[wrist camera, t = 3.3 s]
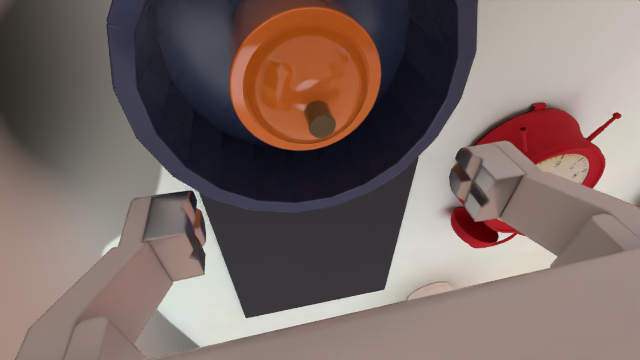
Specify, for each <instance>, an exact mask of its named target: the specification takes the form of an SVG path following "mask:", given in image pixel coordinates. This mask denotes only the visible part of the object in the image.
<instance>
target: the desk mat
mask: <svg viewBox="0 0 640 360" xmlns="http://www.w3.org/2000/svg"><path fill="white" fill-rule="evenodd" d="M417 162H418V157H417V158H416V159H415V160H414V161H413V162H412V163H411V164H410V165H409V166H408V167H407V168H406V169H405V170H404V171H402V172H401V173H399V174H398V175H396V176H395V177H393V178H391V179H390V180H388V181H387V182H385V183H384V184H382V185H381V186H379V187H377V188H376V189H374V190H373V191H370V192H369V193H367V194H364V195H362V196H359V197H356V198H354V199H351V200H349V201H346V202H343V203H341V204H338V205H336V206H332V207H327V208H321V209H315V210H309V211H302V212H296V213H294V212H272V211H254V210H253V211H252V210H248V209H245V208H241V207H238V206H234V205H231V204H227V203H224V202H220V201H217V200H213V199H211V198H209V197H207V196H206V195H204V194H202V193H200V192H199V193H200V196H201V198H202V201H203V204H204V206H205V209H206V212H207V214H208V217H209V220H210V223H211V225H212V228H213V231H214V233H215V236H216V239H217V241H218V244H219V247H220V250H221V252H222V255H223V258H224V260H225V263H226V266H227V268H228V271H229V274H230V276H231V279H232V282H233V285H234V287H235V290H236V293H237V295H238V298H239V301H240V303H241V306H242V309H243V311H244V314H245V317H246V318H250V317H254V316H259V315H264V314H269V313H274V312H279V311H283V310H288V309H293V308H298V307H303V306H307V305H312V304H317V303H322V302H327V301H331V300H336V299H341V298H346V297H351V296H356V295H360V294H365V293H370V292H375V291H380V290H384V289H385V285H386V281H387V277H388V273H389V270H390V266H391V262H392V258H393V254H394V250H395V246H396V243H397V239H398V235H399V231H400V227H401V223H402V219H403V216H404V212H405V208H406V204H407V200H408V196H409V192H410V189H411V185H412V181H413V177H414V173H415V169H416V165H417Z"/></svg>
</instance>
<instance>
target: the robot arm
mask: <svg viewBox="0 0 640 360" xmlns="http://www.w3.org/2000/svg"><path fill="white" fill-rule="evenodd" d="M455 159H456V161H457V162H458V163H457V164H456V165H455V166H454V167H453V168H452V169H451V173H450V176H449V179H450V186H451V189H452V191H453V193H454V194H455V195H456V197H458V198H460V199H462V200H464V208H465V209H466V210H467V212H468V213H469V214H470V216H471V217H472V218H473V220H474V221H475V222H478V221H484V220H490V219H496V218H500V220H502V221H503V222H505V223H506V224H508V225H509V226H511V227H513V228H514V229H516V230H517V231H519V232H520V233H522V234H524V235H525V236H527V237H528V238H530V239H531V240H533V241H535V242H536V243H538V244H539V245H541V246H542V247H544V248H546V249H547V250H549V251H550V252H552V253H553V254H555V255H556V256H558V257H557V258H556V259H555V261H554V262H553V263H552V264H551V266H550V268H548V269H544V270H539V271H535V272H531V273H526V274H522V275H517V276H513V277H508V278H504V279H500V280H495V281H491V282H486V283H482V284H478V285H473V286H469V287H464V288H460V289H455V290H451V291H447V292H442V293H438V294H433V295H429V296H425V297H420V298H416V299H411V300H407V301H403V302H398V303H394V304H389V305H385V306H381V307H376V308H372V309H368V310H363V311H359V312H354V313H350V314H346V315H341V316H337V317H332V318H328V319H324V320H319V321H315V322H310V323H306V324H302V325H297V326H293V327H288V328H284V329H280V330H275V331H271V332H266V333H262V334H258V335H253V336H249V337H244V338H240V339H236V340H231V341H227V342H223V343H218V344H214V345H209V346H205V347H201V348H196V349H192V350H188V351H183V352H179V353H174V354H170V355H165V356H161V357H157V358H152V359H148V358H147V357H146V356H145V355H144V354H142V352H141V351H140V350H139V349H137V347H136V346H135V345H134V343H135V341H136V340H137V338H138V336H139V335H140V334H141V332H142V330H143V329H144V327H145V326H146V324H147V323H148V321H149V319H150V318H151V317H152V315H153V314H154V312H155V310H156V309H157V307H158V306H159V304H160V303H161V301H162V300H163V298H164V297H165V295H166V293H167V292H168V290H169V289H170V287H171V286H172V284H173V282H174V281H178V280H183V279H187V278H192V277H196V276H201V275H204V271H205V253H204V250H203V248H202V246H203V245H204V243H205V242H206V229H205V222H204V218H203V215H202V212H201V210H199V209H197V208H196V205H197V199H196V197H195V195H194V192H193V191H191V190H190V191H183V192H175V193H168V194H160V195H154V196H148V197H140V198H135V199H133V200H132V201H131V203H130V207H129V210H128V214H127V217H126V221H125V225H124V228H123V231H122V235H121V238H120V242H119V246H118V247H114V248H111V249H110V250H109V251H108V252H107V253H106V254H105V255H104V256H103V257H102V258H101V259H100V260H99V261H98V262H97V263H96V264H95V265H94V266H93V267H92V268H91V269H90V270H89V271H88V272H87V273H86V274H85V275H83V276H82V277H81V278H80V279H79V280H78V281H77V282H76V283H75V284H74V285H73V286H72V287H71V288H70V289H69V290H68V291H67V292H66V293H65V294H64V295H63V296H62V297H61V298H60V299H59V300H58V301H57V302H56V303H54V305H52V306H51V307H50V308H49V309H48V310H47V311H46V312H45V313H44V314H43V315H42V316H41V317H40V318H39V319H38V320H37V321H36V322H35V323H34V324H33V325H32V326H31V327H30V328H29V329H28V331H27V333H26V336H25V338H24V340H23V343H22V345H21V347H20V350H19V352H18V354H17V356H16V359H15V360H640V209H639V208H638V207H637V206H635V205H633V204H630V203H628V202H625V201H622V200H620V199H617V198H615V197H612V196H610V195H607V194H604V193H602V192H599V191H597V190H594V189H592V188H589V187H587V186H584V185H581V184H579V183H576V182H574V181H571V180H569V179H566V178H563V177H561V176H558V175H556V174H553V173H551V172H548V171H547V172H543V171H542V170H541V169H539V168H538V167H537V166H536V165H535V164H534V163H533V162H532V161H531V160H529V159H528V158H527V157H526V156H525V155H524V154H523V153H522V152H521V151H519V150H518V149H517V148H516V147H515V146H514V145H513V144H512V143H510V142H508V141H500V142H494V143H490V144H484V145H478V146H472V147H465V148H461V149H460V150H459V151H458V152H457V155H456V158H455Z"/></svg>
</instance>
